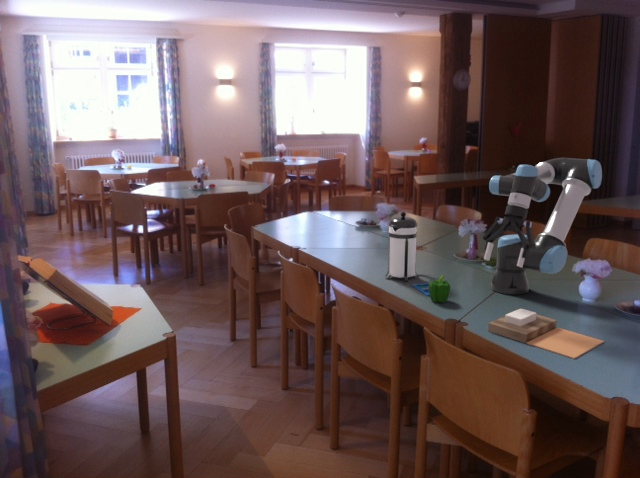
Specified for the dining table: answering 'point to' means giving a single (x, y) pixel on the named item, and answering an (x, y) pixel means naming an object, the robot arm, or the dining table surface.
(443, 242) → the dining table surface
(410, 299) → the dining table surface
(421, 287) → the handheld gaming device
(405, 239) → the coffee press
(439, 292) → the bell pepper
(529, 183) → the robot arm
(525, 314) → the cream block
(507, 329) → the board
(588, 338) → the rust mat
